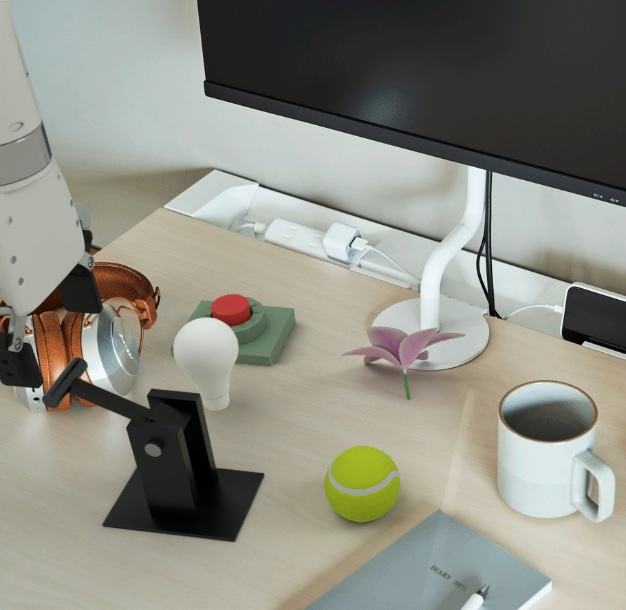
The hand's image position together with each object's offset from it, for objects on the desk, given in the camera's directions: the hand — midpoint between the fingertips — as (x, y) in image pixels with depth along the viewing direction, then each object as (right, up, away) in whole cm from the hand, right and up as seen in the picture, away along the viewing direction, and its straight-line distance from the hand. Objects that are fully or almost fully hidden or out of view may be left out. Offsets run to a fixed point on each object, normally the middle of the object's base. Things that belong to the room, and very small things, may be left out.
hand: (55, 345), depth 74 cm
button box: (+7, -1, +29) cm, 30 cm away
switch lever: (+3, -6, +4) cm, 8 cm away
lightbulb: (+7, -8, +20) cm, 23 cm away
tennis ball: (+24, -16, +10) cm, 30 cm away
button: (+7, +2, +27) cm, 28 cm away
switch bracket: (+8, -15, +10) cm, 19 cm away
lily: (+26, -5, +24) cm, 36 cm away
